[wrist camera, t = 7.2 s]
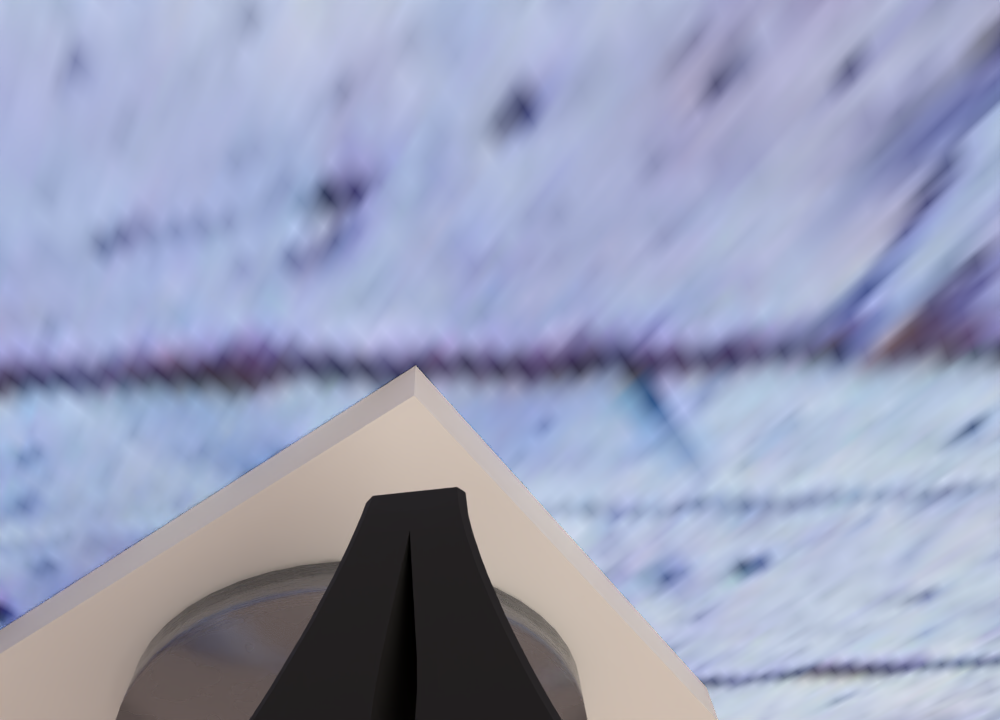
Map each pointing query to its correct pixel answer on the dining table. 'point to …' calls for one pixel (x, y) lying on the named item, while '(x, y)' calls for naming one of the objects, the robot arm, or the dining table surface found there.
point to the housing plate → (324, 538)
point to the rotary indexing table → (287, 650)
